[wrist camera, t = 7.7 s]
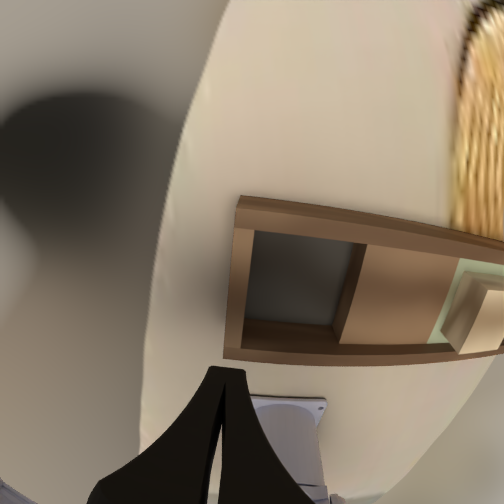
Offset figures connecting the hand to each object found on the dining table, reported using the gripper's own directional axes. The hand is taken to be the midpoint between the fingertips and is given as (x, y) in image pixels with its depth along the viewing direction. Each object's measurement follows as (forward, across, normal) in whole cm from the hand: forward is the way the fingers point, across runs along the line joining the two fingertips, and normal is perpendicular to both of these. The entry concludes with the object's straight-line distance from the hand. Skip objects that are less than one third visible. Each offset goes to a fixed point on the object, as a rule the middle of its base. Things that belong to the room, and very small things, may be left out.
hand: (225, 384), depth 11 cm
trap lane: (+9, -14, -1) cm, 17 cm away
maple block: (+7, -18, -1) cm, 19 cm away
